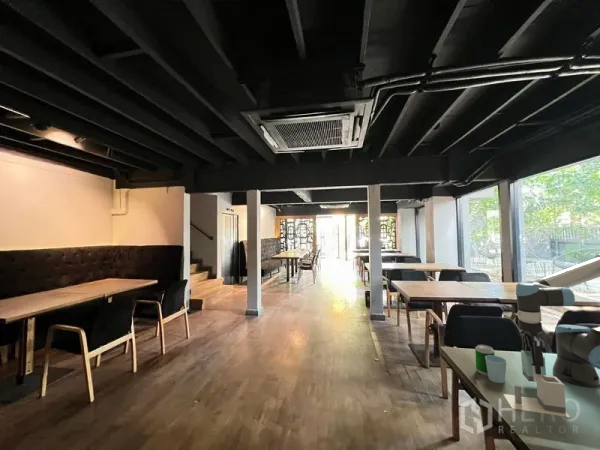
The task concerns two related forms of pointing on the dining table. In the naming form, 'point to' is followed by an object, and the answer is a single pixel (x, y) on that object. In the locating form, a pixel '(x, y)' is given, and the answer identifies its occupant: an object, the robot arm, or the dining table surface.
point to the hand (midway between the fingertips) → (534, 377)
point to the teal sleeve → (529, 365)
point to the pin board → (527, 403)
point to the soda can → (482, 358)
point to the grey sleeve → (551, 393)
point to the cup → (496, 368)
